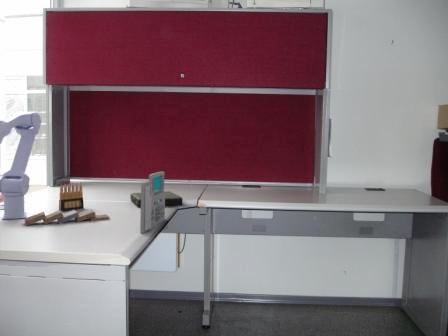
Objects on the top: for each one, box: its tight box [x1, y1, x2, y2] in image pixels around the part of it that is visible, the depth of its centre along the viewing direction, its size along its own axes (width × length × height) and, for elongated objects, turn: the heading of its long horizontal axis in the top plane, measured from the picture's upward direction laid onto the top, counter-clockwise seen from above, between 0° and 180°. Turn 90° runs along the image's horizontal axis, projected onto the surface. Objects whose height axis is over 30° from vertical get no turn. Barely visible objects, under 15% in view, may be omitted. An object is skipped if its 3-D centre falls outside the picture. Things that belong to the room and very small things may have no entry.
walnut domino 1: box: [23, 211, 47, 227], centre depth 148 cm, size 5×2×7 cm
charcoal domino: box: [56, 210, 79, 224], centre depth 153 cm, size 5×2×7 cm
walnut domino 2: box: [42, 209, 64, 225], centre depth 150 cm, size 5×2×7 cm
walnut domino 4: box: [88, 214, 110, 222], centre depth 158 cm, size 5×2×7 cm
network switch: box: [130, 190, 183, 209], centre depth 195 cm, size 23×24×5 cm
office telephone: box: [139, 171, 166, 234], centre depth 147 cm, size 23×3×20 cm, turn 170°
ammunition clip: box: [58, 182, 84, 213], centre depth 175 cm, size 11×2×12 cm, turn 138°
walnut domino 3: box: [74, 209, 97, 223], centre depth 156 cm, size 5×2×7 cm
